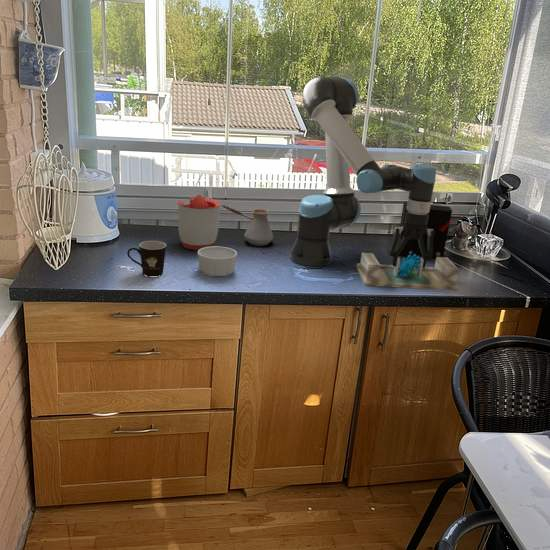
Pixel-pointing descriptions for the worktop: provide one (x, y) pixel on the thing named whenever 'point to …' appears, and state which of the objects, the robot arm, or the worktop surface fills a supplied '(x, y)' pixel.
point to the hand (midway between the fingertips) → (406, 275)
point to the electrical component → (436, 221)
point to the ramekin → (217, 260)
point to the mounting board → (430, 278)
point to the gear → (409, 266)
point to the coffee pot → (257, 227)
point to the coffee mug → (151, 257)
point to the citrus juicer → (198, 222)
